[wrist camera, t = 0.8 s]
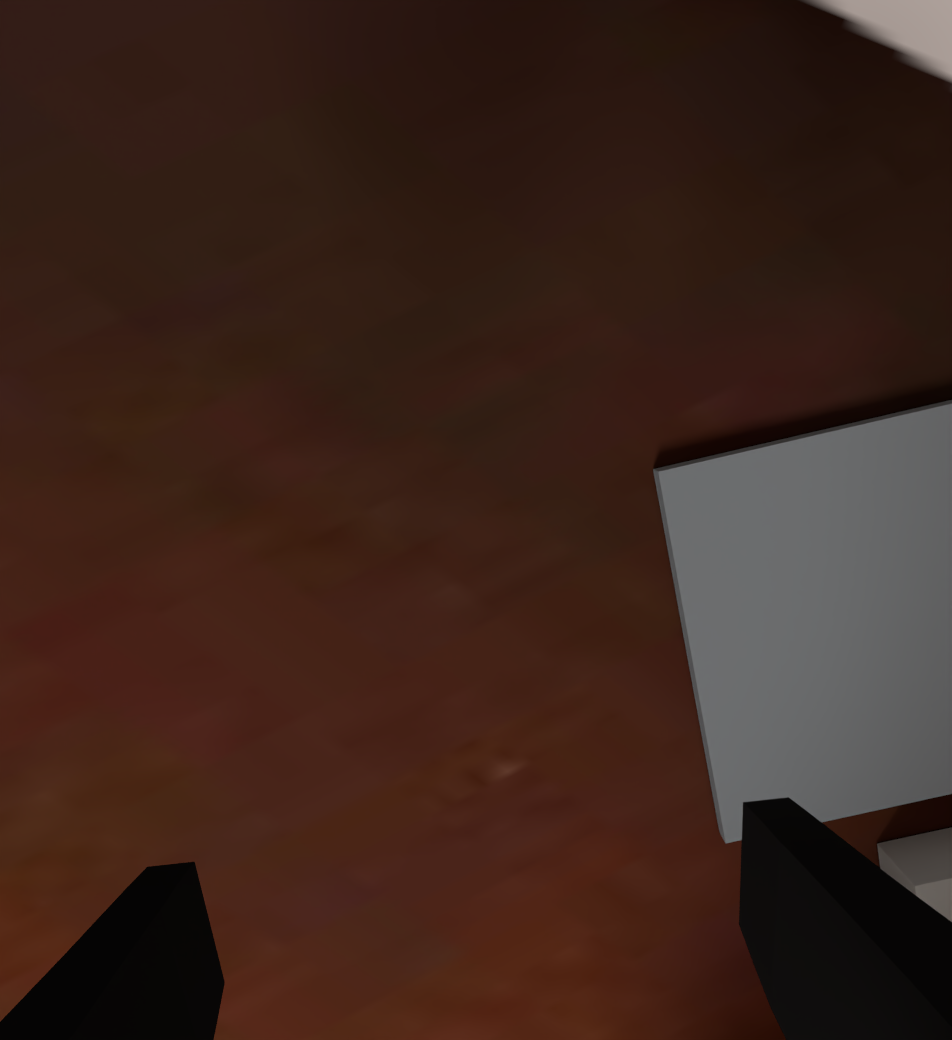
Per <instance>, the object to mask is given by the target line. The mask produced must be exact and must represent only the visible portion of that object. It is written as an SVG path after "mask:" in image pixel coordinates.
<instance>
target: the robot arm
mask: <svg viewBox="0 0 952 1040" xmlns="http://www.w3.org/2000/svg"><path fill="white" fill-rule="evenodd" d="M739 925H740V928H741V931H742V933H743V936H744V939H745V941H746V944H747V947H748V950H749V952H750V955H751V958H752V960H753V963H754V966H755V968H756V971H757V974H758V976H759V979H760V981H761V984H762V986H763V989H764V992H765V994H766V997H767V999H768V1002H769V1004H770V1007H771V1009H772V1011H773V1013H774V1015H775V1017H776V1019H777V1021H778V1023H779V1026H780V1028H781V1030H782V1032H783V1034H784V1036H785V1038H786V1040H952V922H951V921H950V920H948V919H947V918H946V917H944V916H943V915H942V914H940V913H939V912H937V911H936V910H935V909H933V908H932V907H931V906H929V905H928V904H927V903H925V902H924V901H923V900H921V899H920V898H919V897H917V896H916V895H915V894H913V893H912V892H911V891H909V890H908V889H907V888H905V887H904V886H903V885H901V884H900V883H899V882H897V881H896V880H895V879H893V878H892V877H891V876H890V875H888V874H887V873H886V872H884V871H883V870H882V869H880V868H879V867H878V866H877V865H875V864H874V863H873V862H871V861H870V860H869V859H868V858H866V857H865V856H864V855H862V854H861V853H860V852H858V851H857V850H856V849H855V848H853V847H852V846H851V845H850V844H848V843H847V842H846V841H844V840H843V839H842V838H841V837H839V836H838V835H837V834H835V833H834V832H833V831H832V830H830V829H829V828H828V827H827V826H825V825H824V824H823V823H821V822H820V821H819V820H818V819H816V818H815V817H814V816H813V815H811V814H810V813H809V812H807V811H806V810H805V809H803V808H802V807H801V806H800V805H798V804H797V803H796V802H794V801H793V800H792V799H790V798H789V797H787V798H777V799H768V800H759V801H750V802H743V818H742V850H741V883H740V915H739ZM224 983H225V982H224V978H223V974H222V970H221V966H220V962H219V958H218V954H217V950H216V946H215V942H214V938H213V934H212V930H211V926H210V922H209V918H208V914H207V910H206V906H205V902H204V898H203V894H202V890H201V886H200V882H199V878H198V874H197V870H196V866H195V862H188V863H179V864H170V865H160V866H151V867H147V868H146V869H145V870H144V871H143V872H142V873H141V874H140V875H139V876H138V877H137V878H136V879H135V880H134V881H133V882H132V883H131V884H130V885H129V886H128V887H127V888H126V889H125V890H124V892H123V893H122V894H121V895H120V896H119V897H118V898H117V899H116V900H115V901H114V902H113V903H112V904H111V905H110V907H109V908H108V909H107V910H106V911H105V912H104V913H103V914H102V915H101V916H100V917H99V918H98V919H97V920H96V922H95V923H94V924H93V925H92V926H91V927H90V928H89V929H88V930H87V931H86V932H85V933H84V934H83V936H82V937H81V938H80V939H79V940H78V941H77V942H76V943H75V944H74V945H73V946H72V947H71V948H70V949H69V951H68V952H67V953H66V954H65V955H64V956H63V957H62V958H61V959H60V960H59V961H58V962H57V963H56V964H55V965H54V966H53V967H52V968H51V969H50V970H49V972H48V973H47V974H46V975H45V976H44V977H43V978H42V979H41V980H40V981H39V982H38V983H37V984H36V985H35V986H34V987H33V988H32V989H31V990H30V991H29V992H28V993H27V995H26V996H25V997H24V998H23V999H22V1000H21V1001H20V1002H19V1003H18V1004H17V1005H16V1006H15V1007H14V1008H13V1009H12V1010H11V1011H10V1012H9V1013H8V1014H7V1015H6V1016H5V1017H4V1019H3V1020H2V1021H1V1022H0V1040H213V1039H214V1034H215V1029H216V1024H217V1019H218V1014H219V1009H220V1004H221V998H222V993H223V988H224Z"/></svg>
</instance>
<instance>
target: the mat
mask: <svg viewBox="0 0 952 1040" xmlns="http://www.w3.org/2000/svg"><path fill="white" fill-rule="evenodd" d="M653 472H654V477H655V482H656V488H657V493H658V499H659V504H660V510H661V515H662V521H663V526H664V532H665V537H666V543H667V548H668V554H669V559H670V565H671V570H672V575H673V581H674V586H675V592H676V597H677V603H678V608H679V614H680V619H681V625H682V630H683V636H684V641H685V647H686V652H687V657H688V663H689V668H690V674H691V679H692V685H693V690H694V696H695V701H696V707H697V712H698V718H699V723H700V729H701V734H702V739H703V745H704V750H705V756H706V761H707V767H708V772H709V778H710V783H711V789H712V794H713V800H714V805H715V811H716V816H717V821H718V827H719V832H720V834H721V836H722V838H723V840H724V841H725V843H730V842H734V841H739V840H742V818H743V802H750V801H759V800H768V799H777V798H787V797H789V798H790V799H792V800H793V801H794V802H796V803H797V804H798V805H800V806H801V807H802V808H803V809H805V810H806V811H807V812H809V813H810V814H811V815H813V816H814V817H815V818H816V819H818V820H819V821H820V822H826V821H830V820H835V819H839V818H844V817H848V816H853V815H858V814H862V813H867V812H871V811H876V810H880V809H885V808H889V807H894V806H899V805H903V804H908V803H912V802H917V801H921V800H926V799H931V798H935V797H940V796H944V795H949V794H952V400H949V401H944V402H940V403H936V404H931V405H927V406H923V407H919V408H914V409H910V410H906V411H901V412H897V413H893V414H888V415H884V416H880V417H876V418H871V419H867V420H863V421H858V422H854V423H850V424H845V425H841V426H837V427H833V428H828V429H824V430H820V431H815V432H811V433H807V434H802V435H798V436H794V437H790V438H785V439H781V440H777V441H772V442H768V443H764V444H759V445H755V446H751V447H747V448H742V449H738V450H734V451H729V452H725V453H721V454H716V455H712V456H708V457H704V458H699V459H695V460H691V461H686V462H682V463H678V464H673V465H669V466H665V467H661V468H656V469H653Z"/></svg>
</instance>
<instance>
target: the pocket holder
mask: <svg viewBox="0 0 952 1040" xmlns="http://www.w3.org/2000/svg"><path fill="white" fill-rule="evenodd" d="M877 847H878V855H879V862H880V869H882V870H883V871H884V872H886V873H887V874H888V875H890V876H891V877H892V878H893V879H895V880H896V881H897V882H899V883H900V884H901V885H903V886H904V887H905V888H907V889H908V890H909V891H911V892H912V893H913V894H915V895H916V896H917V897H919V898H920V899H921V900H923V901H924V902H925V903H927V904H928V905H929V906H931V907H932V908H933V909H935V910H936V911H937V912H939V913H940V914H942V915H943V916H944V917H946V918H947V919H948V920H950V921H951V922H952V827H951V828H946V829H942V830H937V831H932V832H928V833H923V834H919V835H914V836H909V837H905V838H900V839H896V840H891V841H886V842H882V843H877Z"/></svg>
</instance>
